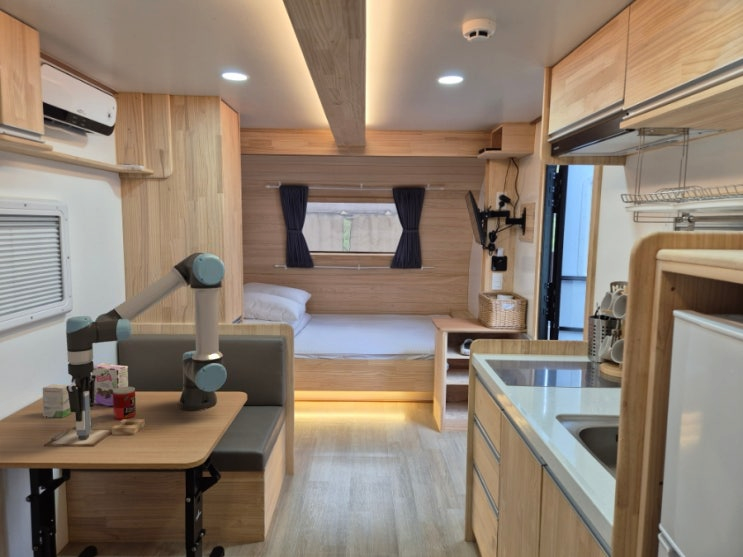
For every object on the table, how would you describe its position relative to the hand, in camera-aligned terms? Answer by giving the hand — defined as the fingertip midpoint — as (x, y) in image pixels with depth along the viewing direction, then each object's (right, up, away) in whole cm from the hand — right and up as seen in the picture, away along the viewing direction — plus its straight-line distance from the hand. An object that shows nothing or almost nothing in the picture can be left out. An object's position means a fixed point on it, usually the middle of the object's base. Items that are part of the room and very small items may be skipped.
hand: (83, 427), depth 164 cm
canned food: (+3, -3, +22) cm, 23 cm away
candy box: (-10, -1, +36) cm, 38 cm away
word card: (-7, -3, +12) cm, 15 cm away
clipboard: (-3, -4, +2) cm, 6 cm away
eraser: (0, -4, 0) cm, 4 cm away
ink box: (-24, -3, +23) cm, 34 cm away
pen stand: (+11, -4, +9) cm, 15 cm away
